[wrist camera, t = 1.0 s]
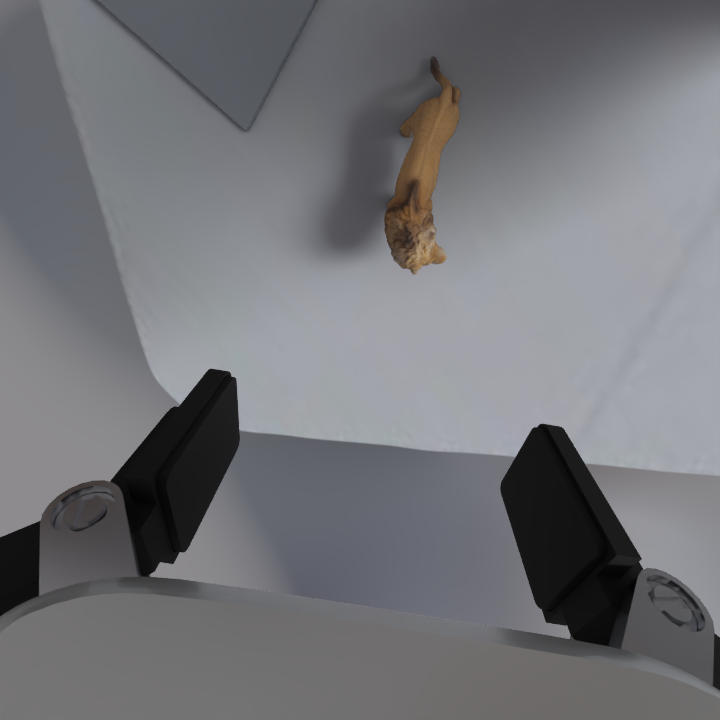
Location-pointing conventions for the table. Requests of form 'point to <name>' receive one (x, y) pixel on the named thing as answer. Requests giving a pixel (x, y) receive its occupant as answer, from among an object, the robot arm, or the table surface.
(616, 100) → the table surface
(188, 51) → the mat
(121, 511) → the robot arm
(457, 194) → the table surface
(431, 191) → the lion figurine
